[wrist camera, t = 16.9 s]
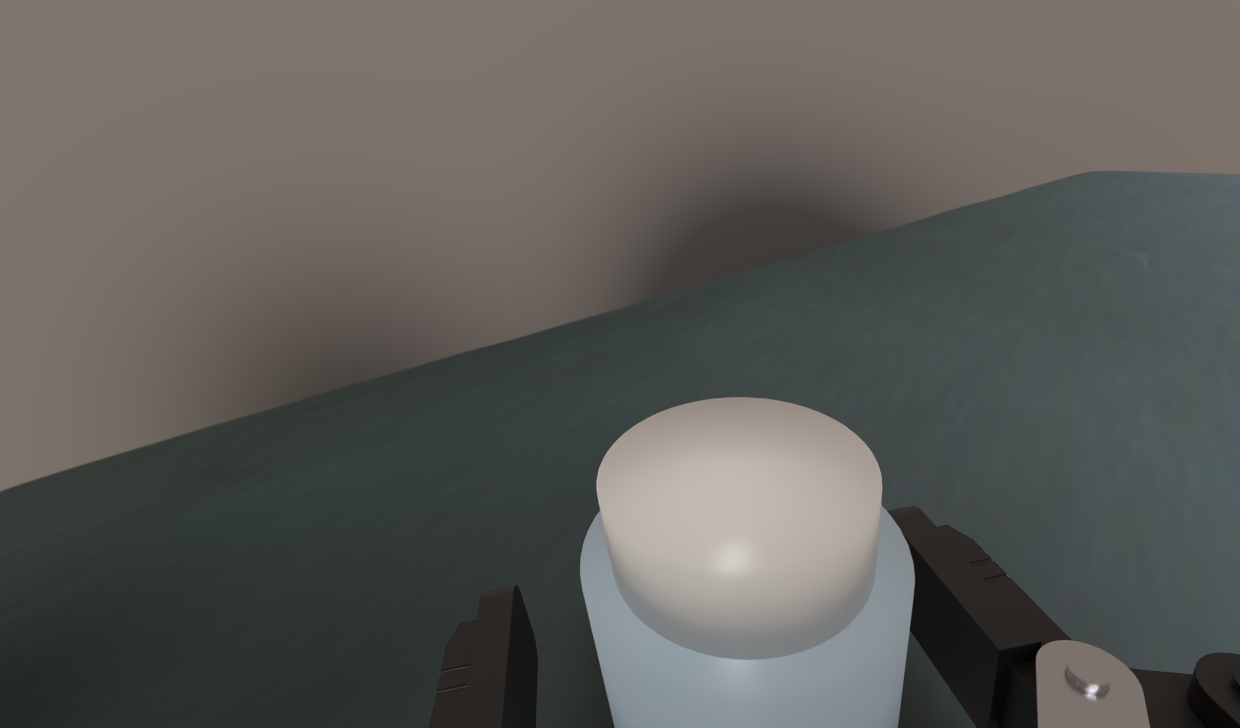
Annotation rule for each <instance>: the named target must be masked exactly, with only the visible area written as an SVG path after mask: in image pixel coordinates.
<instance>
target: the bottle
mask: <svg viewBox="0 0 1240 728" xmlns="http://www.w3.org/2000/svg"><path fill="white" fill-rule="evenodd" d="M597 496H598V501H599V506H600V511H599V513H598V514H597V515H596V517H595V519H594V521H593V522H592V524H591V526H590V528H589V530H588V532H587V535H586V538H585V540H584V543H583V548H582V553H581V559H580V576H581V583H582V590H583V594H584V599H585V603H586V607H587V611H588V616H589V620H590V624H591V628H592V633H593V637H594V641H595V646H596V650H597V654H598V658H599V663H600V667H601V671H602V675H603V680H604V684H605V688H606V693H607V697H608V701H609V705H610V710H611V714H612V718H613V723H614V727H615V728H898V722H899V714H900V706H901V697H902V689H903V681H904V672H905V664H906V656H907V647H908V639H909V631H910V622H911V614H912V605H913V597H914V586H915V574H914V565H913V560H912V556H911V553H910V550H909V546H908V544H907V542H906V540H905V538H904V536H903V534H902V532H901V530H900V528H899V527H898V525H897V524H896V522H895V521H894V520H893V518H892V517H891V515H890V514H889V513H888V512H887V511H886V510H885V509H884V508H883V506H882V505H881V499H882V476H881V472H880V469H879V465H878V463H877V461H876V459H875V457H874V455H873V453H872V452H871V451H870V449H869V448H868V447H867V445H866V444H865V443H864V442H863V441H862V440H861V439H860V438H859V437H858V436H857V435H856V434H855V433H854V432H852V431H851V430H850V429H848V428H847V427H846V426H844V425H843V424H841V423H839V422H838V421H836V420H834V419H832V418H830V417H828V416H826V415H824V414H822V413H820V412H817V411H814V410H812V409H809V408H806V407H803V406H799V405H796V404H792V403H787V402H782V401H777V400H770V399H762V398H747V397H734V398H717V399H709V400H702V401H697V402H692V403H687V404H684V405H680V406H677V407H673V408H670V409H668V410H665V411H662V412H659V413H657V414H655V415H653V416H651V417H649V418H647V419H645V420H643V421H642V422H640V423H638V424H636V425H635V426H634V427H632V428H631V429H629V430H628V431H627V432H625V433H624V434H623V435H622V436H621V437H620V438H619V439H618V440H617V441H616V442H615V443H614V444H613V445H612V447H611V448H610V449H609V450H608V452H607V453H606V455H605V457H604V458H603V460H602V463H601V465H600V468H599V471H598V476H597Z"/></svg>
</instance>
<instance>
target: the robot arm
mask: <svg viewBox="0 0 1240 728" xmlns="http://www.w3.org/2000/svg"><path fill="white" fill-rule="evenodd" d="M887 512H888V513H889V514H890V515H891V517H892V518H893V520H894V521H895V522H896V524H897V525H898V527H899V528H900V530H901V532H902V534H903V536H904V538H905V540H906V542H907V544H908V546H909V550H910V553H911V556H912V560H913V565H914V574H915V586H914V597H913V605H912V614H911V622H910V631H911V632H912V634H913V635H914V637H915V638H916V640H917V641H918V643H919V644H920V646H921V647H922V648H923V650H924V651H925V653H926V654H927V656H928V657H929V659H930V660H931V662H932V663H933V664H934V666H935V667H936V669H937V670H938V672H939V673H940V675H941V676H942V678H943V679H944V681H945V682H946V683H947V685H948V686H949V688H950V689H951V691H952V692H953V694H954V695H955V697H956V698H957V699H958V701H959V702H960V704H961V705H962V707H963V708H964V710H965V711H966V713H967V714H968V715H969V717H970V718H971V720H972V721H973V723H974V724H975V726H976V727H977V728H1240V655H1239V654H1233V653H1212V654H1208V655H1206V656H1204V657H1202V658H1201V659H1200V660H1199V661H1198V662H1197V664H1196V667H1195V669H1194V672H1193V674H1182V673H1171V672H1160V671H1148V670H1139V669H1132V668H1128V667H1127V666H1126V665H1125V664H1123V663H1122V662H1121V661H1120V660H1118V659H1117V658H1115V657H1114V656H1112V655H1111V654H1109V653H1107V652H1105V651H1103V650H1102V649H1099V648H1097V647H1095V646H1092V645H1089V644H1086V643H1082V642H1078V641H1072V640H1071V639H1070V638H1069V637H1068V636H1067V635H1066V634H1065V633H1064V632H1063V631H1062V630H1061V629H1060V628H1059V627H1058V626H1057V625H1056V624H1055V623H1054V622H1053V621H1052V620H1051V619H1050V618H1049V617H1048V616H1047V615H1046V614H1045V613H1044V612H1043V611H1042V610H1041V609H1040V608H1039V607H1038V606H1037V605H1036V604H1035V602H1034V601H1033V600H1032V599H1031V598H1030V597H1029V596H1028V595H1027V594H1026V593H1025V592H1024V591H1023V590H1022V589H1021V588H1020V587H1019V586H1018V585H1017V584H1016V583H1015V582H1014V581H1013V580H1012V579H1011V578H1008V577H1007V576H1006V573H1005V572H1004V571H1003V570H1002V569H1001V568H1000V567H999V566H998V565H997V564H996V563H995V562H992V560H991V558H990V557H989V556H988V555H987V554H986V553H985V552H984V550H983V549H982V548H981V547H980V546H979V545H978V544H977V543H976V542H975V541H974V540H973V539H971V538H969V537H968V536H966V535H964V534H962V533H961V532H959V531H957V530H955V529H954V528H952V527H950V526H948V525H944V526H939V527H936V526H935V525H934V524H933V523H932V522H931V521H930V520H929V518H928V517H927V516H926V515H925V514H924V513H923V512H922V511H921V510H920V509H919V508H917V507H915V506H911V507H906V508H901V509H896V510H891V511H887ZM441 671H442V674H441V675H440V678H439V683H438V688H437V695H436V697H435V702H434V707H433V712H432V716H431V721H430V726H429V728H536V700H537V671H538V659H537V648H536V642H535V637H534V633H533V630H532V627H531V624H530V621H529V617H528V614H527V611H526V608H525V605H524V602H523V599H522V595H521V592H520V590H519V587H518V586H517V585H516V586H511V587H506V588H501V589H496V590H491V591H486V592H483V593H482V595H481V598H480V604H479V610H478V616H477V620H473V621H468V622H463V623H460V624H459V626H458V628H457V629H456V631H455V632H454V634H453V636H452V637H451V639H450V641H449V642H448V644H447V645H446V649H445V654H444V659H443V664H442V668H441Z"/></svg>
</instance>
